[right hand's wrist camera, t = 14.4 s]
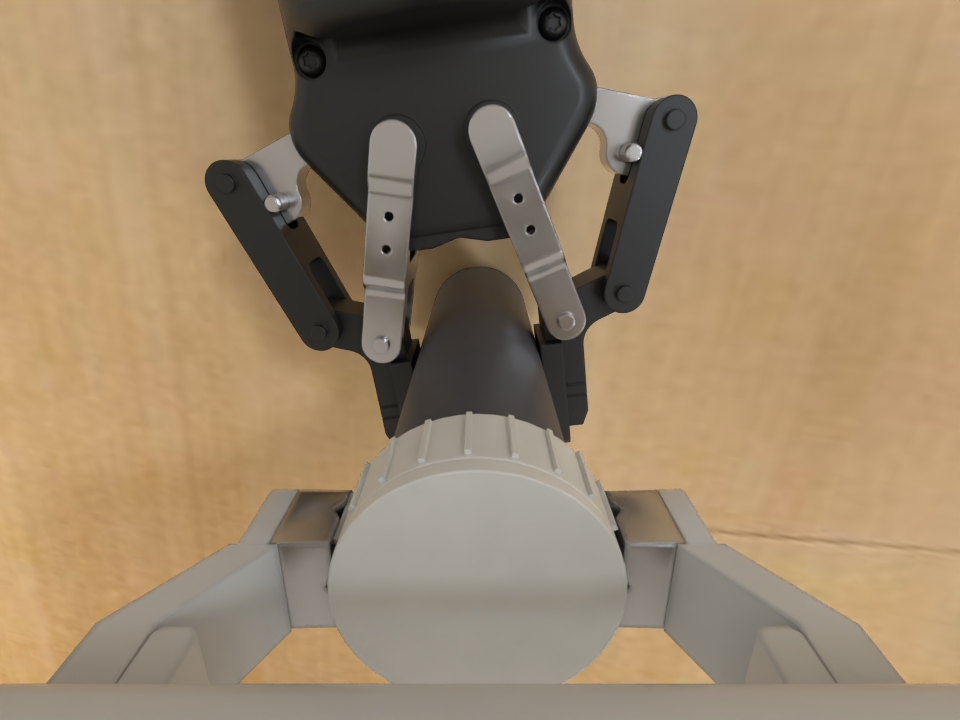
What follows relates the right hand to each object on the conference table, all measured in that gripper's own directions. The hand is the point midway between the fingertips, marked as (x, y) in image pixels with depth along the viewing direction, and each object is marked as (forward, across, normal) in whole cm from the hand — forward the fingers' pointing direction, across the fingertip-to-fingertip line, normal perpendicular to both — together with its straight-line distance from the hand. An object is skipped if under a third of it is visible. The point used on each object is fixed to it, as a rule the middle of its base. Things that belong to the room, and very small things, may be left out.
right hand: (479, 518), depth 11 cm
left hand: (+8, 0, -3) cm, 9 cm away
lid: (-2, 0, 0) cm, 2 cm away
